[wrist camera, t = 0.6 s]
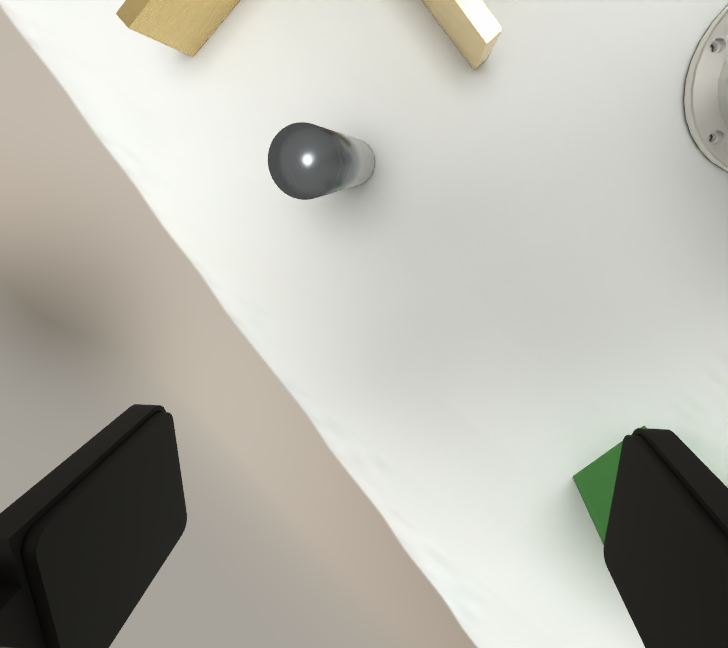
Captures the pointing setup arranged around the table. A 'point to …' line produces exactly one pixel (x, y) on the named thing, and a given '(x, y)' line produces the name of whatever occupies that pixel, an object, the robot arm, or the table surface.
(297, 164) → the pin
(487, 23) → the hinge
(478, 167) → the table surface
